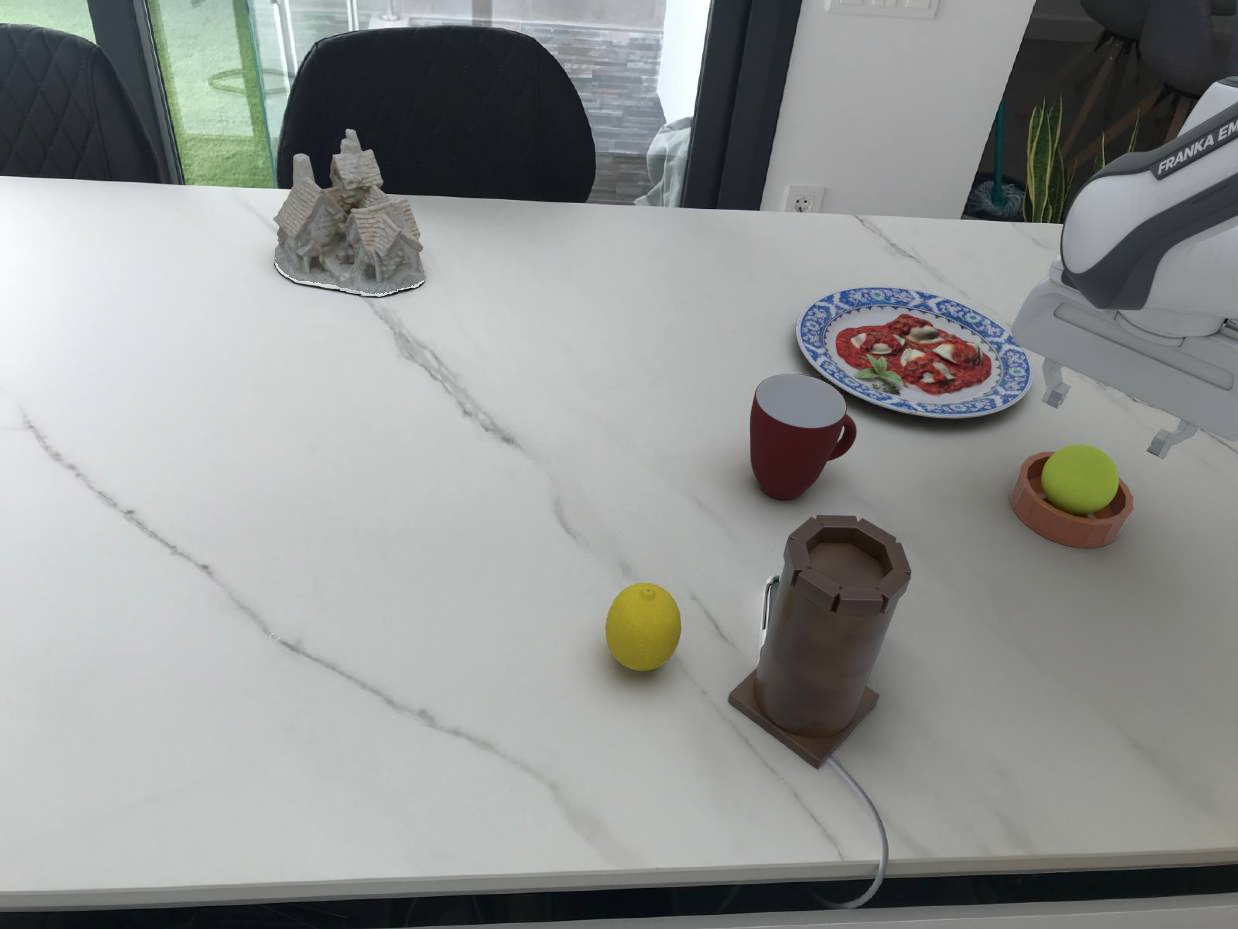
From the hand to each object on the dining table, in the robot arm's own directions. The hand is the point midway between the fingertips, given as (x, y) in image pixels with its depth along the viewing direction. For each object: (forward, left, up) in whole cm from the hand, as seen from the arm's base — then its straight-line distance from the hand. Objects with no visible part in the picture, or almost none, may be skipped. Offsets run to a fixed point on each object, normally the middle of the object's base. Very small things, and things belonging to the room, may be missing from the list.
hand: (1103, 427), depth 85 cm
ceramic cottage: (+79, +23, -10) cm, 83 cm away
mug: (+20, +16, -10) cm, 27 cm away
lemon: (+16, +42, -10) cm, 46 cm away
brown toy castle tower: (+5, +36, -10) cm, 38 cm away
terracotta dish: (0, 0, -10) cm, 10 cm away
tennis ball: (0, 0, -6) cm, 6 cm away
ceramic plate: (+23, -11, -10) cm, 27 cm away
